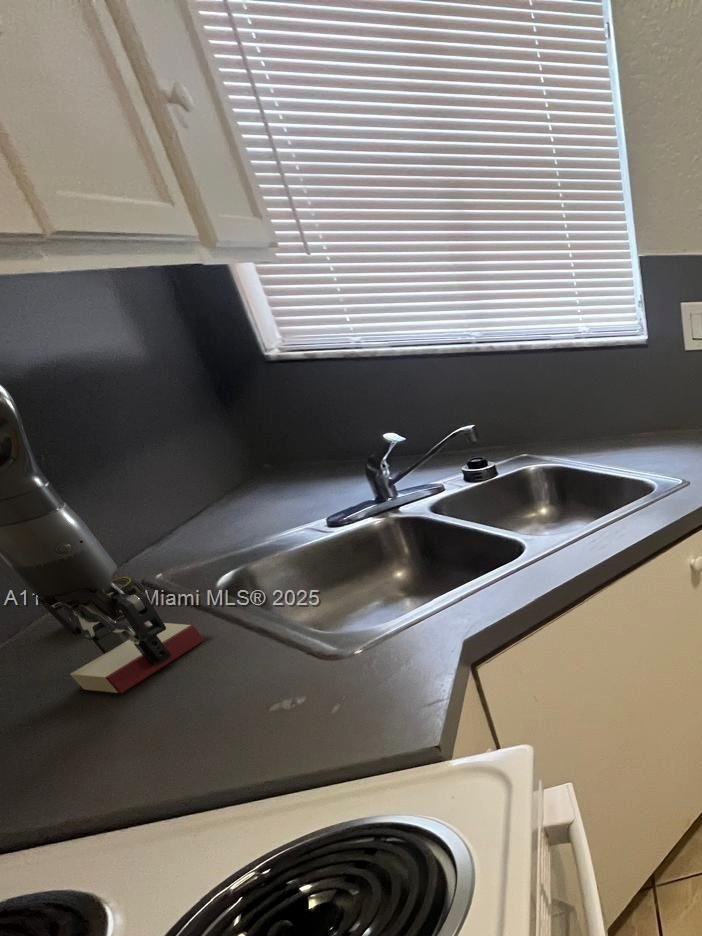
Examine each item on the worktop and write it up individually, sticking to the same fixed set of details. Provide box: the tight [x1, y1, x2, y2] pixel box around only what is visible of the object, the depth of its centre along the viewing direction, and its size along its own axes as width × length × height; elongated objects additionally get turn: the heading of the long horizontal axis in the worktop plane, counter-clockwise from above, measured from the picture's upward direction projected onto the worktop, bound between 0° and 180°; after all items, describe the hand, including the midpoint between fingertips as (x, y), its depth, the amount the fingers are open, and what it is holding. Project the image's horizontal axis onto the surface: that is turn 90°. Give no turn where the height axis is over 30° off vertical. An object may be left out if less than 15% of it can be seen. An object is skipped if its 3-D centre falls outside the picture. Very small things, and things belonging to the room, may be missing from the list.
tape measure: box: [112, 576, 147, 596], centre depth 95 cm, size 7×7×4 cm
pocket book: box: [69, 622, 205, 694], centre depth 83 cm, size 11×6×3 cm, turn 170°
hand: (141, 659), depth 83 cm, fingers closed on pocket book, 6 cm apart
